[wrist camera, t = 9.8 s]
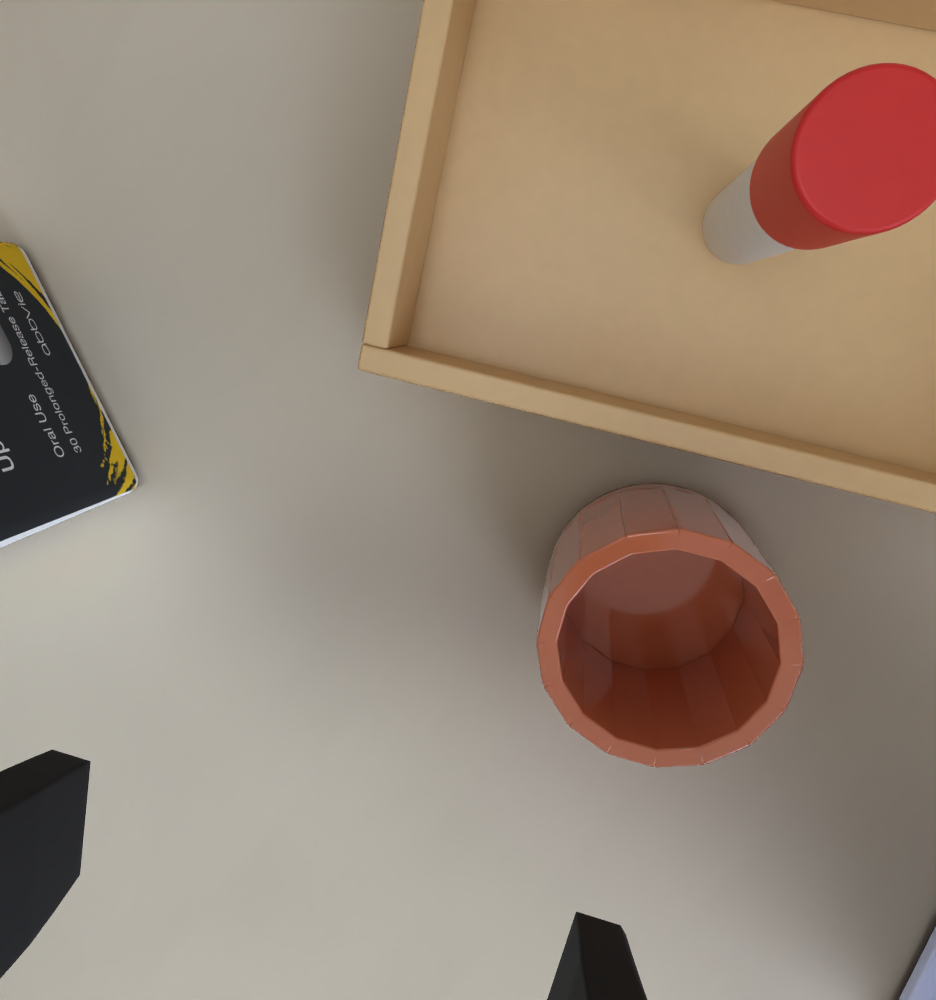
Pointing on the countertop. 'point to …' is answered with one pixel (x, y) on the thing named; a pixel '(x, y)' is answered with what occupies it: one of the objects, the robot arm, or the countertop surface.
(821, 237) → the marker
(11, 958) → the robot arm
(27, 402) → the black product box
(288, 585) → the countertop surface
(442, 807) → the countertop surface
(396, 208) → the tray
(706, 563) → the cup
